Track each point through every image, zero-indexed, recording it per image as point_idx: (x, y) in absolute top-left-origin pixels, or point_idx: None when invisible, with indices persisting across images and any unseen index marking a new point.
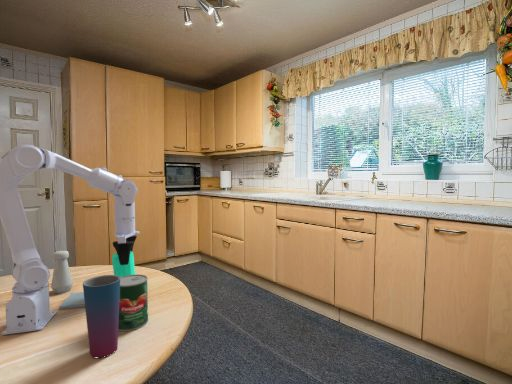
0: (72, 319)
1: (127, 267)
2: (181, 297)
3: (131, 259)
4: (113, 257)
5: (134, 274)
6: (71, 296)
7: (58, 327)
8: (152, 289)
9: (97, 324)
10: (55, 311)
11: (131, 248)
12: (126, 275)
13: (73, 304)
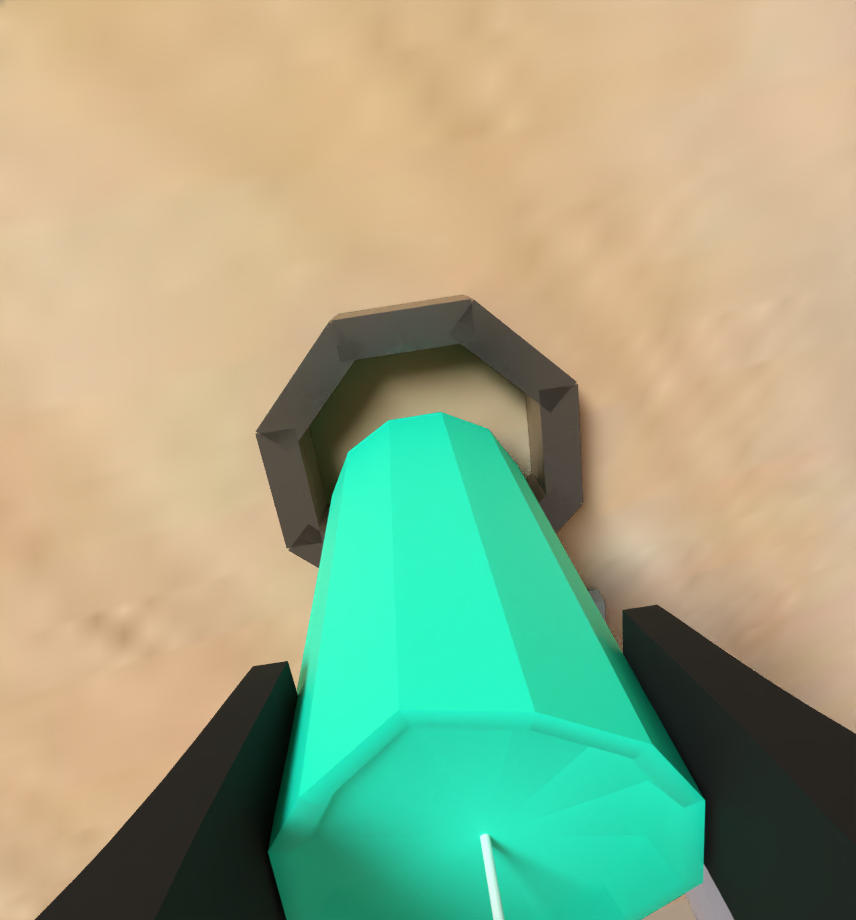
0: (768, 655)
1: (579, 585)
2: None
3: (545, 617)
4: (611, 911)
5: (460, 462)
6: None
7: (843, 678)
8: (334, 253)
9: None
10: None
11: (201, 858)
12: (557, 537)
13: None
